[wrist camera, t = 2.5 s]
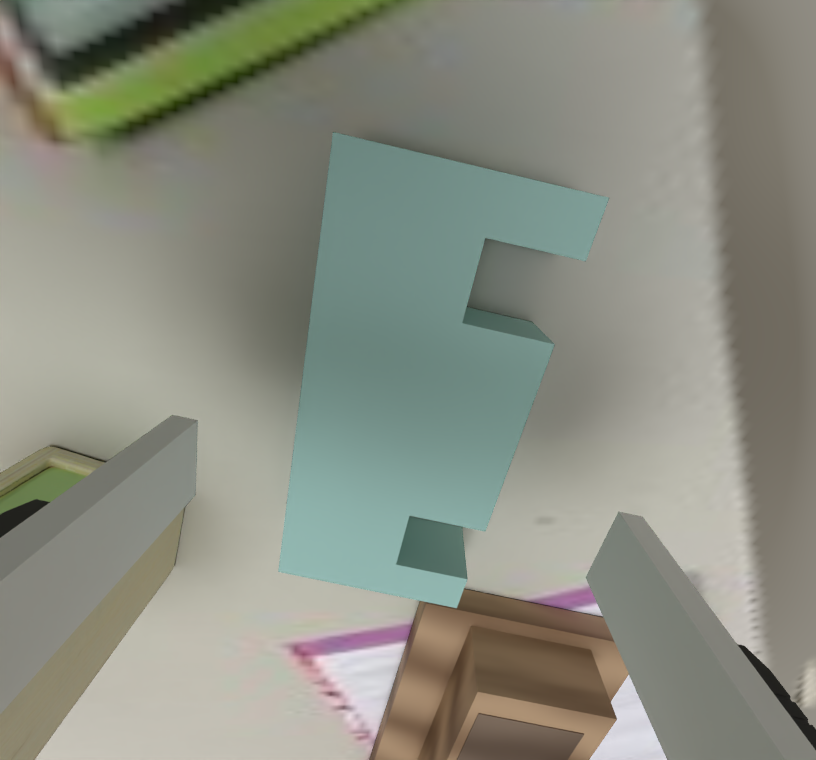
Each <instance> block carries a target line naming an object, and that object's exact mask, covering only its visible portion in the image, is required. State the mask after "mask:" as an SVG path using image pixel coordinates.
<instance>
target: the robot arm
mask: <svg viewBox="0 0 816 760" xmlns="http://www.w3.org/2000/svg"><path fill="white" fill-rule="evenodd" d="M197 427H198V420H194V419H189V418H184V417H180V416H175V415H172V416H170V417H169V418H167V419H166V420H165V421H163V422H162V423H160V424H159V425H158V426H156V427H155V428H153V429H152V430H151V431H149V432H148V433H146V434H145V435H144V436H142V437H141V438H139V439H138V440H137V441H135V442H134V443H132V444H131V445H130V446H128V447H127V448H125V449H124V450H123V451H121V452H120V453H118V454H117V455H116V456H114V457H113V458H111V459H110V460H109V461H107V462H106V463H104V464H103V465H102V466H100V467H99V468H97V469H96V470H95V471H93V472H92V473H90V474H89V475H88V476H86V477H85V478H83V479H82V480H81V481H79V482H78V483H76V484H75V485H74V486H72V487H71V488H69V489H68V490H67V491H65V492H64V493H62V494H61V495H60V496H58V497H57V498H55V499H54V500H53V501H51V502H47V501H43V500H38V499H35V500H32V501H30V502H27V503H25V504H23V505H20V506H18V507H15V508H13V509H10V510H8V511H6V512H3V513H2V514H0V714H1V713H2V712H3V711H4V710H5V709H6V708H7V706H8V705H9V704H10V703H11V702H12V701H13V700H14V699H15V697H16V696H17V695H18V694H19V693H20V692H21V691H22V690H23V688H24V687H25V686H26V685H27V684H28V683H29V682H30V681H31V679H32V678H33V677H34V676H35V675H36V674H37V673H38V671H39V670H40V669H41V668H42V667H43V666H44V665H45V664H46V662H47V661H48V660H49V659H50V658H51V657H52V656H53V655H54V653H55V652H56V651H57V650H58V649H59V648H60V647H61V646H62V644H63V643H64V642H65V641H66V640H67V639H68V638H69V637H70V635H71V634H72V633H73V632H74V631H75V630H76V629H77V628H78V626H79V625H80V624H81V623H82V622H83V621H84V620H85V619H86V617H87V616H88V615H89V614H90V613H91V612H92V611H93V610H94V608H95V607H96V606H97V605H98V604H99V603H100V602H101V601H102V599H103V598H104V597H105V596H106V595H107V594H108V593H109V592H110V590H111V589H112V588H113V587H114V586H115V585H116V584H117V583H118V581H119V580H120V579H121V578H122V577H123V576H124V575H125V574H126V572H127V571H128V570H129V569H130V568H131V567H132V566H133V565H134V563H135V562H136V561H137V560H138V559H139V558H140V557H141V556H142V554H143V553H144V552H145V551H146V550H147V549H148V548H149V547H150V545H151V544H152V543H153V542H154V541H155V540H156V539H157V538H158V536H159V535H160V534H161V533H162V532H163V531H164V530H165V529H166V527H167V526H168V525H169V524H170V523H171V522H172V521H173V520H174V518H175V517H176V516H177V515H178V514H179V513H180V512H181V511H182V509H183V508H184V507H185V506H186V505H187V504H188V503H189V502H190V500H191V499H192V498H193V497H194V496H195V495H196V462H197ZM586 579H587V581H588V584H589V586H590V588H591V590H592V593H593V595H594V597H595V599H596V601H597V604H598V606H599V608H600V610H601V613H602V615H603V617H604V619H605V622H606V624H607V626H608V628H609V630H610V633H611V635H612V637H613V639H614V642H615V644H616V646H617V648H618V651H619V653H620V655H621V657H622V660H623V662H624V664H625V666H626V668H627V671H628V673H629V675H630V677H631V680H632V682H633V684H634V686H635V689H636V691H637V693H638V695H639V698H640V700H641V702H642V704H643V706H644V709H645V711H646V713H647V715H648V718H649V720H650V722H651V724H652V727H653V729H654V731H655V733H656V736H657V738H658V740H659V742H660V744H661V747H662V749H663V751H664V753H665V756H666V758H667V760H816V729H815V728H814V727H813V725H809V723H808V719H807V717H806V716H805V715H804V714H803V712H802V711H801V710H800V708H799V707H798V706H797V704H796V703H795V702H792V701H791V700H790V695H789V694H788V693H787V692H786V690H785V689H784V688H783V686H782V685H781V684H780V682H779V681H778V680H777V679H776V677H775V676H774V675H773V673H772V672H771V671H770V670H769V669H768V668H767V667H766V666H765V665H764V664H763V663H762V662H761V661H760V660H759V659H758V658H757V657H756V656H754V655H753V654H752V653H751V652H750V651H749V650H748V649H747V648H746V647H745V646H743V645H738V644H737V643H736V642H735V641H734V639H733V638H732V637H731V635H730V634H729V633H728V631H727V630H726V629H725V627H724V626H723V625H722V623H721V622H720V621H719V619H718V618H717V616H716V615H715V614H714V612H713V611H712V610H711V608H710V607H709V606H708V604H707V603H706V602H705V600H704V599H703V598H702V596H701V595H700V594H699V592H698V591H697V589H696V588H695V587H694V585H693V584H692V583H691V581H690V580H689V579H688V577H687V576H686V575H685V573H684V572H683V571H682V569H681V568H680V567H679V565H678V564H677V562H676V561H675V560H674V558H673V557H672V556H671V554H670V553H669V552H668V550H667V549H666V548H665V546H664V545H663V544H662V542H661V541H660V540H659V538H658V537H657V535H656V534H655V533H654V531H653V530H652V529H651V527H650V526H649V525H648V523H647V522H646V521H645V519H644V518H643V517H641V516H637V515H632V514H628V513H623V512H618V514H617V516H616V518H615V520H614V522H613V524H612V526H611V528H610V530H609V532H608V534H607V536H606V538H605V540H604V542H603V544H602V546H601V548H600V550H599V552H598V554H597V556H596V558H595V560H594V562H593V564H592V566H591V568H590V570H589V572H588V574H587V576H586Z"/></svg>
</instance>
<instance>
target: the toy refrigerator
mask: <svg viewBox="0 0 816 760" xmlns="http://www.w3.org/2000/svg"><path fill="white" fill-rule="evenodd" d="M104 463H105V462H101V461H98V460H95V459H92V458H88V457H85V456H82V455H79V454H76V453H72V452H69V451H66V450H63V449H59V448H56V447H46V448H43V449H41V450H39V451H37V452H35V453H33V454H32V455H30V456H28V457H27V458H25V459H23V460H22V461H20V462H18V463H17V464H15V465H13V466H11V467H10V468H8V469H6V470H5V471H3V472H1V473H0V514H2V513H3V512H6V511H8V510H10V509H13V508H15V507H18V506H20V505H23V504H25V503H27V502H30V501H32V500H35V499H38V500H43V501H47V502H51V501H53V500H54V499H55V498H57V497H58V496H60V495H61V494H62V493H64V492H65V491H67V490H68V489H69V488H71V487H72V486H74V485H75V484H76V483H78V482H79V481H81V480H82V479H83V478H85V477H86V476H88V475H89V474H90V473H92V472H93V471H95V470H96V469H97V468H99V467H100V466H102V465H103V464H104ZM184 508H185V507H184ZM184 508H183V509H182V511H181V512H180V513H179V514H178V515H177V516H176V517H175V518H174V520H173V521H172V522H171V523H170V524H169V525H168V526H167V527H166V529H165V530H164V531H163V532H162V533H161V534H160V535H159V536H158V538H157V539H156V540H155V541H154V542H153V543H152V544H151V545H150V547H149V548H148V549H147V550H146V551H145V552H144V553H143V554H142V556H141V557H140V558H139V559H138V560H137V561H136V562H135V563H134V565H133V566H132V567H131V568H130V569H129V570H128V571H127V572H126V574H125V575H124V576H123V577H122V578H121V579H120V580H119V581H118V583H117V584H116V585H115V586H114V587H113V588H112V589H111V590H110V592H109V593H108V594H107V595H106V596H105V597H104V598H103V599H102V601H101V602H100V603H99V604H98V605H97V606H96V607H95V608H94V610H93V611H92V612H91V613H90V614H89V615H88V616H87V617H86V619H85V620H84V621H83V622H82V623H81V624H80V625H79V626H78V628H77V629H76V630H75V631H74V632H73V633H72V634H71V635H70V637H69V638H68V639H67V640H66V641H65V642H64V643H63V644H62V646H61V647H60V648H59V649H58V650H57V651H56V652H55V653H54V655H53V656H52V657H51V658H50V659H49V660H48V661H47V662H46V664H45V665H44V666H43V667H42V668H41V669H40V670H39V671H38V673H37V674H36V675H35V676H34V677H33V678H32V679H31V681H30V682H29V683H28V684H27V685H26V686H25V687H24V688H23V690H22V691H21V692H20V693H19V694H18V695H17V696H16V697H15V699H14V700H13V701H12V702H11V703H10V704H9V705H8V706H7V708H6V709H5V710H4V711H3V712H2V713H1V714H0V760H35V758H36V757H37V756H38V754H39V753H40V751H41V750H42V749H43V747H44V746H45V745H46V743H47V742H48V741H49V739H50V738H51V736H52V735H53V734H54V732H55V731H56V729H57V728H58V727H59V725H60V724H61V723H62V721H63V720H64V718H65V717H66V716H67V714H68V713H69V711H70V710H71V709H72V707H73V706H74V705H75V703H76V702H77V701H78V699H79V698H80V697H81V695H82V694H83V693H84V691H85V690H86V688H87V687H88V686H89V684H90V683H91V682H92V680H93V679H94V677H95V676H96V675H97V673H98V672H99V670H100V669H101V668H102V666H103V665H104V664H105V662H106V661H107V659H108V658H109V657H110V655H111V654H112V653H113V651H114V650H115V648H116V647H117V646H118V644H119V643H120V642H121V640H122V639H123V637H124V636H125V635H126V633H127V632H128V631H129V629H130V628H131V626H132V625H133V624H134V622H135V621H136V619H137V618H138V617H139V615H140V614H141V613H142V611H143V610H144V609H145V607H146V606H147V604H148V603H149V602H150V600H151V599H152V598H153V596H154V595H155V594H156V592H157V591H158V589H159V588H160V587H161V585H162V584H163V582H164V581H165V580H166V578H167V577H168V576H169V574H170V572H171V571H172V569H173V567H174V564H175V559H176V554H177V548H178V543H179V537H180V532H181V526H182V521H183V514H184Z"/></svg>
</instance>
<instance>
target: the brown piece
mask: <svg viewBox="0 0 816 760" xmlns="http://www.w3.org/2000/svg"><path fill="white" fill-rule="evenodd" d="M628 675H629V673H628V671H627V668H626V666H625V664H624V662H623V660H622V657H621V655H620V653H619V651H618V648H617V646H616V644H615V642H614V639H613V637H612V635H611V633H610V630H609V628H608V626H607V624H606V622H605V619H604V618H603V617H598V616H593V615H588V614H583V613H578V612H574V611H569V610H564V609H559V608H554V607H549V606H544V605H540V604H535V603H530V602H525V601H520V600H515V599H510V598H506V597H501V596H496V595H491V594H486V593H481V592H476V591H471V590H467V589H464V590H463V593H462V595H461V598H460V601H459V604H458V606H457V608H453V607H448V606H443V605H438V604H434V603H429V602H424V601H420V603H419V606H418V609H417V612H416V615H415V618H414V622H413V625H412V628H411V631H410V634H409V637H408V640H407V644H406V647H405V650H404V653H403V656H402V659H401V662H400V665H399V669H398V672H397V675H396V678H395V681H394V684H393V687H392V691H391V694H390V697H389V700H388V703H387V706H386V709H385V712H384V716H383V719H382V722H381V725H380V728H379V731H378V734H377V738H376V741H375V744H374V747H373V750H372V753H371V756H370V759H369V760H589V759H590V758H591V756H592V755H593V753H594V752H595V750H596V749H597V747H598V746H599V745H600V743H601V742H602V740H603V739H604V737H605V736H606V734H607V733H608V732H609V730H610V729H611V727H612V726H613V724H614V723H615V721H616V720H617V718H616V715H615V713H614V710H613V707H612V705H611V700H612V699H613V697H614V696H615V694H616V693H617V691H618V690H619V688H620V687H621V685H622V684H623V682H624V681H625V679H626V678H627V676H628Z"/></svg>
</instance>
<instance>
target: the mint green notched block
mask: <svg viewBox="0 0 816 760" xmlns="http://www.w3.org/2000/svg"><path fill="white" fill-rule="evenodd" d="M608 200H609V198H608V197H604V196H599V195H595V194H591V193H587V192H583V191H578V190H574V189H570V188H566V187H562V186H558V185H553V184H549V183H545V182H541V181H537V180H532V179H528V178H524V177H520V176H516V175H512V174H507V173H503V172H499V171H495V170H491V169H486V168H482V167H478V166H474V165H470V164H465V163H461V162H457V161H453V160H449V159H445V158H440V157H436V156H432V155H428V154H424V153H419V152H415V151H411V150H407V149H403V148H398V147H394V146H390V145H386V144H382V143H378V142H373V141H369V140H365V139H361V138H357V137H352V136H348V135H344V134H340V133H336V132H333V137H332V145H331V153H330V161H329V169H328V177H327V185H326V193H325V201H324V209H323V217H322V225H321V233H320V241H319V249H318V257H317V265H316V273H315V281H314V289H313V297H312V305H311V313H310V321H309V329H308V337H307V346H306V354H305V362H304V370H303V378H302V386H301V394H300V402H299V410H298V418H297V426H296V434H295V442H294V450H293V458H292V466H291V474H290V482H289V490H288V498H287V506H286V514H285V522H284V530H283V538H282V546H281V554H280V562H279V571H278V572H282V573H287V574H292V575H297V576H301V577H306V578H311V579H316V580H321V581H326V582H331V583H336V584H341V585H346V586H350V587H355V588H360V589H365V590H370V591H375V592H380V593H385V594H390V595H394V596H399V597H404V598H409V599H414V600H419V601H424V602H429V603H434V604H438V605H443V606H448V607H453V608H457V606H458V604H459V601H460V598H461V595H462V593H463V590H464V587H465V585H466V582H467V570H466V560H465V550H464V540H463V531H462V527H466V528H471V529H475V530H480V531H486V528H487V526H488V523H489V520H490V517H491V515H492V512H493V509H494V507H495V504H496V501H497V499H498V496H499V493H500V491H501V488H502V485H503V483H504V480H505V477H506V474H507V472H508V469H509V466H510V464H511V461H512V458H513V456H514V453H515V450H516V448H517V445H518V442H519V439H520V437H521V434H522V431H523V429H524V426H525V423H526V421H527V418H528V415H529V413H530V410H531V407H532V405H533V402H534V399H535V396H536V394H537V391H538V388H539V386H540V383H541V380H542V378H543V375H544V372H545V370H546V367H547V364H548V362H549V359H550V356H551V353H552V351H553V348H554V345H555V344H554V343H553V342H552V341H551V340H550V339H549V338H548V337H547V336H546V335H545V334H544V333H543V332H542V331H541V330H540V329H539V328H538V327H537V326H536V325H535V324H534V323H533V322H530V321H526V320H521V319H517V318H512V317H508V316H504V315H499V314H495V313H490V312H486V311H482V310H477V309H473V308H469V307H467V303H468V300H469V296H470V292H471V289H472V285H473V281H474V278H475V274H476V271H477V267H478V263H479V260H480V256H481V252H482V249H483V245H484V241H485V238H488V239H492V240H497V241H501V242H505V243H509V244H514V245H518V246H522V247H526V248H531V249H535V250H539V251H544V252H548V253H552V254H556V255H561V256H565V257H569V258H574V259H578V260H582V261H586V259H587V257H588V254H589V251H590V249H591V246H592V243H593V240H594V238H595V235H596V232H597V230H598V227H599V224H600V222H601V219H602V216H603V214H604V211H605V208H606V206H607V203H608ZM411 516H414V517H411ZM416 517H418V518H416ZM421 518H423V519H421ZM425 519H428V520H425ZM430 520H433V521H430ZM435 521H437V522H435ZM440 522H442V523H440ZM444 523H447V524H444ZM449 524H452V525H449ZM454 525H456V526H454ZM459 526H461V527H459Z"/></svg>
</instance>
